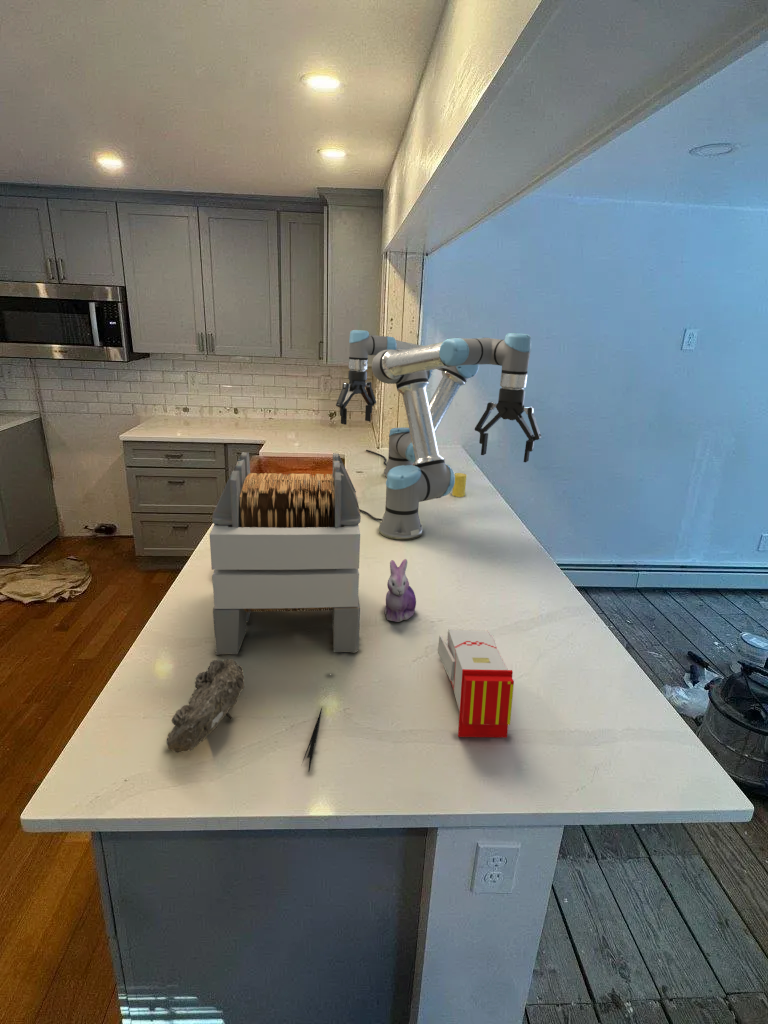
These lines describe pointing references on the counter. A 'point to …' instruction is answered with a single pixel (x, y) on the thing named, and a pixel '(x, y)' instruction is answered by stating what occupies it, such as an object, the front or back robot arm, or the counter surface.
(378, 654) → the counter surface
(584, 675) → the counter surface
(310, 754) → the feather
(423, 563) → the counter surface
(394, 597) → the figurine
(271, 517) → the transformer
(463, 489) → the yellow cylinder
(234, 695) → the fossil
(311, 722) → the counter surface
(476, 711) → the toy
